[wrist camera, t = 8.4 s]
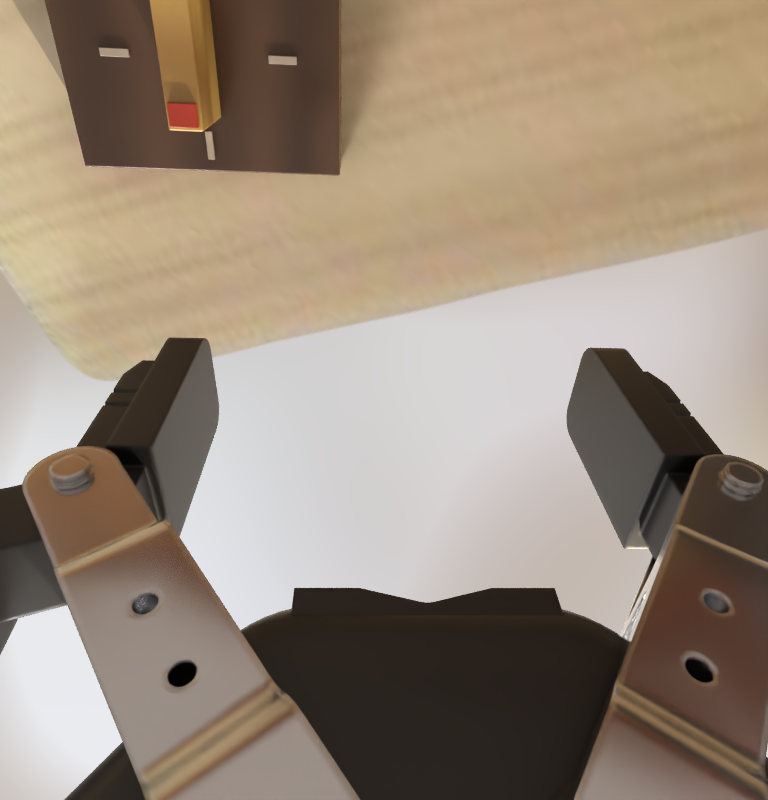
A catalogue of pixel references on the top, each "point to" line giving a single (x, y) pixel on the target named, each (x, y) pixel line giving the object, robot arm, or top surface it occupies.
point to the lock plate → (237, 83)
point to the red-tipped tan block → (187, 63)
